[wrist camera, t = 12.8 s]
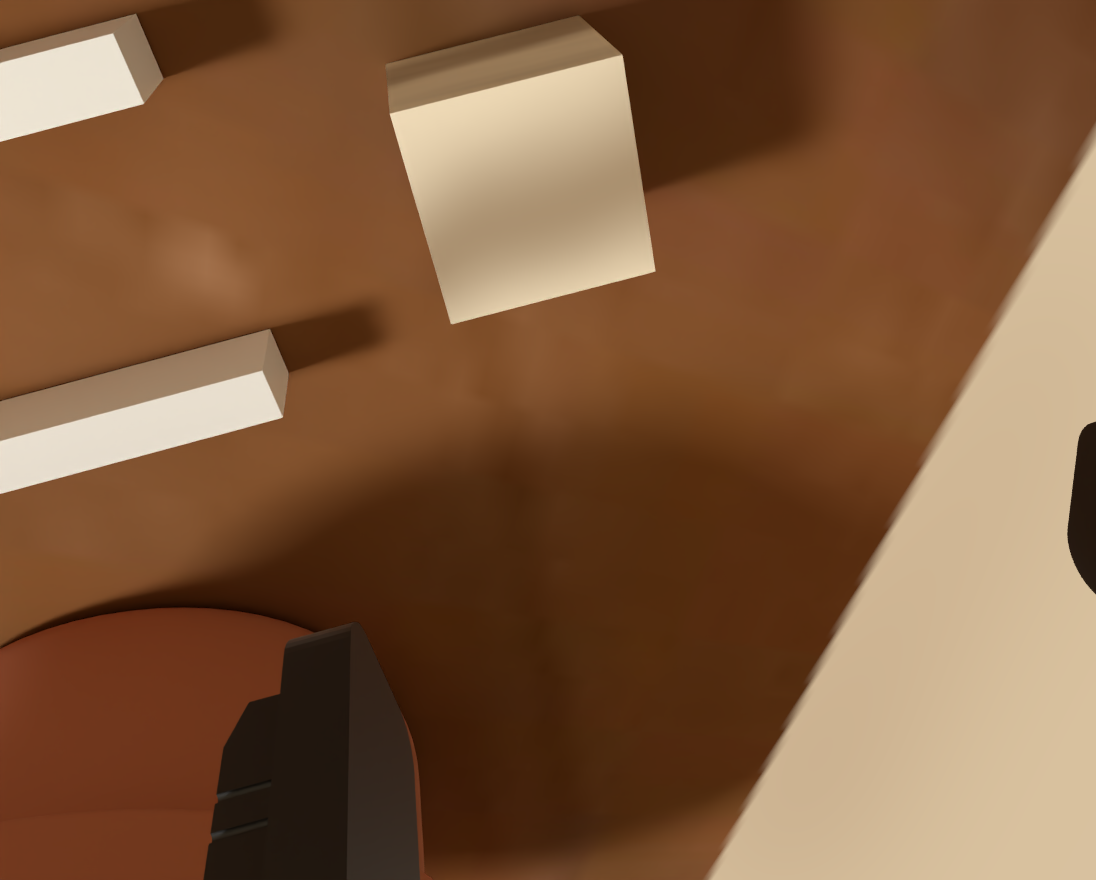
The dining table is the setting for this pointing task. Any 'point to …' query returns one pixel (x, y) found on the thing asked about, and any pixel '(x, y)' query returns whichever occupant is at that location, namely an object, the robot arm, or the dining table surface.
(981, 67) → the dining table surface
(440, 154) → the block
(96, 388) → the rail channel
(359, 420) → the dining table surface
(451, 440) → the dining table surface
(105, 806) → the potted cactus
